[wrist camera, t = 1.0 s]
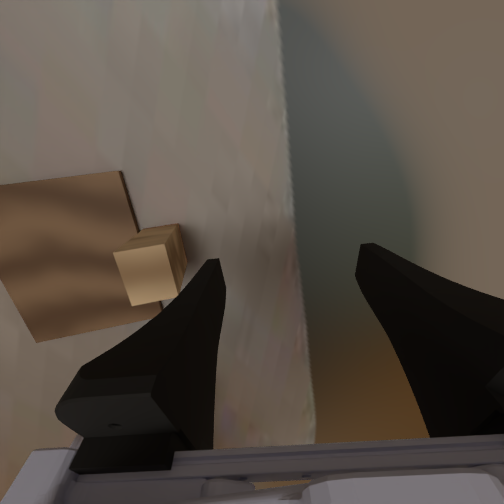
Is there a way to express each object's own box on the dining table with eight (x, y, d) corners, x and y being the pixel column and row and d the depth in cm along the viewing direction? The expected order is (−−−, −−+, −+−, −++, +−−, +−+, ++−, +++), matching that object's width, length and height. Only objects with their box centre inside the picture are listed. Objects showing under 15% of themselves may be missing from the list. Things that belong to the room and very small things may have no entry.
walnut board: (164, 312, 30) (163, 316, 29) (40, 338, 28) (36, 342, 27) (120, 171, 24) (118, 170, 23) (-40, 190, 22) (-49, 191, 21)
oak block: (187, 261, 28) (178, 296, 20) (154, 267, 28) (131, 306, 19) (178, 223, 27) (164, 243, 18) (143, 228, 26) (112, 252, 18)
